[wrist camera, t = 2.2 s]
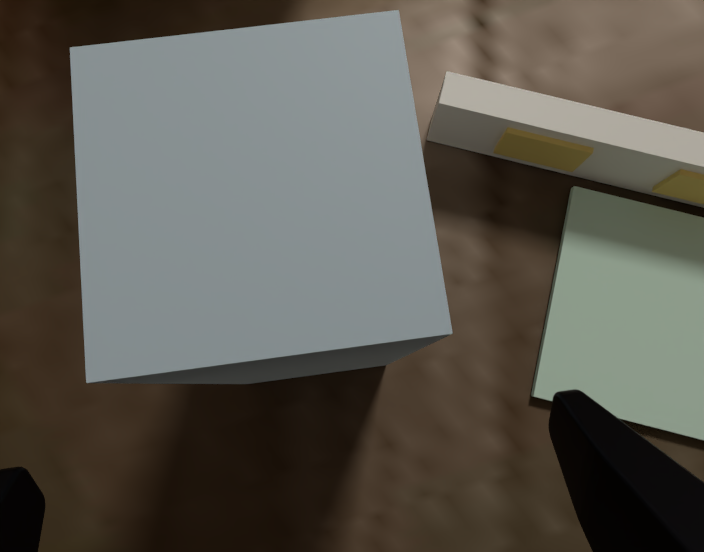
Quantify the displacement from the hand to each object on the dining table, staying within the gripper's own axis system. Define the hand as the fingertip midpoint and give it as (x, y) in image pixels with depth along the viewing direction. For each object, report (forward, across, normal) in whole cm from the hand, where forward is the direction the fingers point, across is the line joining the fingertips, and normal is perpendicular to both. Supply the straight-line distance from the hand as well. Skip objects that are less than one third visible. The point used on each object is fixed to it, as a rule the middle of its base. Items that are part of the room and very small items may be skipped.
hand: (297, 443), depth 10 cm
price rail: (+12, -15, +3) cm, 19 cm away
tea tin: (+10, 0, +5) cm, 11 cm away
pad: (+9, -13, +6) cm, 17 cm away
